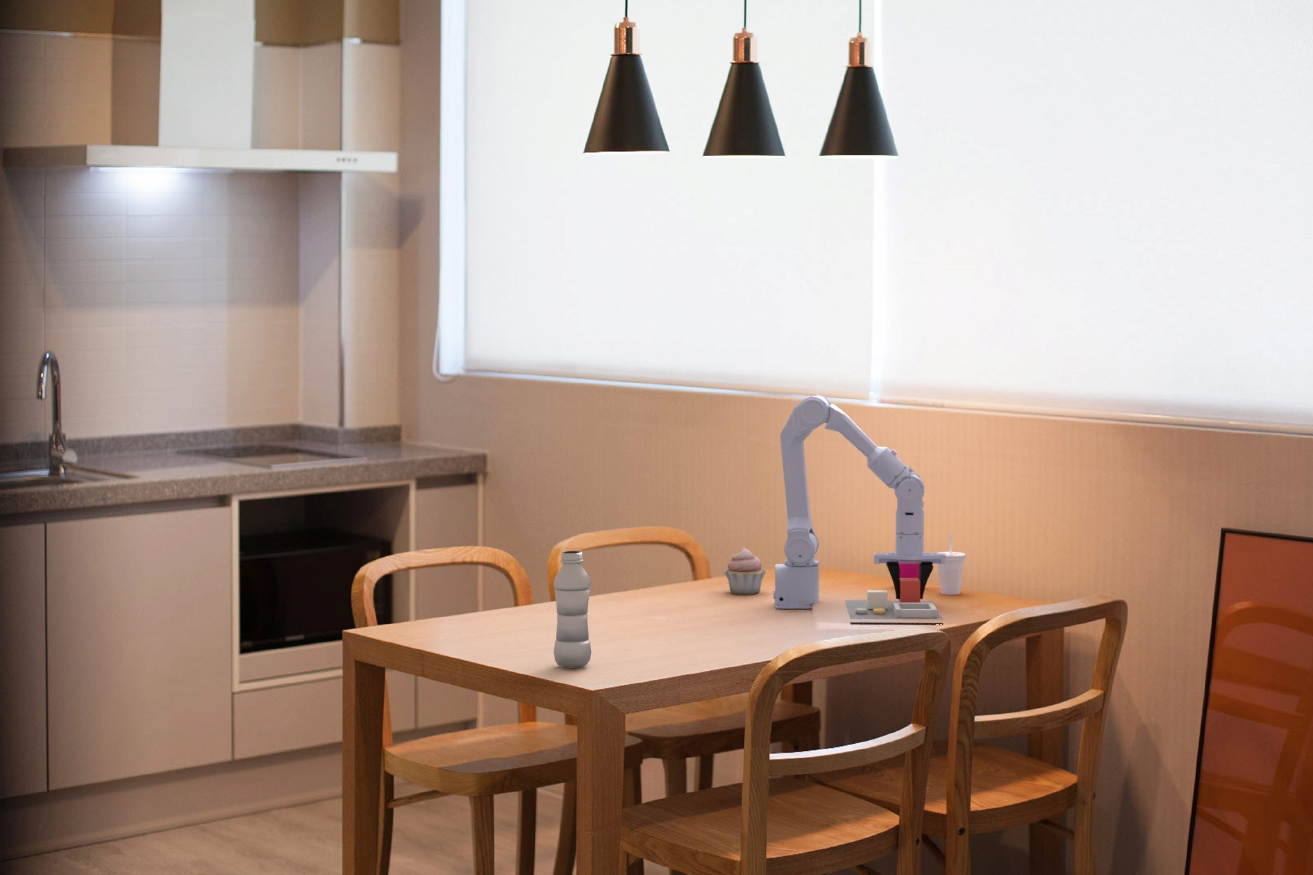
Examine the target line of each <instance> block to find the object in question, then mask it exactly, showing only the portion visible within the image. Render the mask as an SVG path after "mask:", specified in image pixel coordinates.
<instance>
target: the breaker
mask: <svg viewBox="0 0 1313 875" xmlns="http://www.w3.org/2000/svg"><path fill="white" fill-rule="evenodd" d="M888 597H889V592H888V590H885V589H881V590H880V589H867V590H866V600H867V608H868V609H876V608H881V609H888V601H889V600H888V599H889V598H888Z"/></svg>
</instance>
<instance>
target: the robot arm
mask: <svg viewBox="0 0 1313 875" xmlns="http://www.w3.org/2000/svg"><path fill="white" fill-rule="evenodd" d="M823 424H826V425H825V426H824V429H826V430H829V431H834V432H838V433H839V434H841V435H842V436H843V437H844V438H845V439H846V440H847V441H848V442H849V443H850V444H851V445H852V446H854V447H855V448H856V449H857V450H858V451H859V452H861V454H862V455H864V456H865V457H866V459H867V465H866V466H867V468H868V470H869V469H870V471H871V472H872V473H873V474H874V475H875V476H876V477H877V478H878V479H879V480H881V482H882V483H883V484H885V485H886V486H887V488H889V489H893V490H894V495H895V497H896V510H895V551H894V552H877V553H876V552H874V553H873V564H874V565H879V564H885V565H886V567H887V570H888V572H889V574H890V577H891V580H892V584H893V588H894V591H895V599H896V600H899V599H900V568H899V564H898V563H920V564H919V580H920V600H923V599H924V592H925V588H926V586H927V583H928V580H929V578H930V576H931V574H932V572H933V569H934V565H933V564H935V565H936V564H937V565H938V564H946V555H945V554H939V553H938V552H936V553H933V552H924V551H925V550H924V549H925V548H924V547H925V546H924V542H925V539H924V538H925V536H924V535H925V534H924V532H925V511H924V509H923V508H924V500H923V499H924V498H923V497H924V495H925V484H924V481H923V479H922V478H921V476H920V474H917V473H914V470H915V469H914V468H913V467H912V466H910V467H908V466H907V465H906V464H905V462H903V461H902V460H901V459H900V458H899V457H898V456H897V455H898V452H897V451H896V450H895V449H894V448H892V449H891V450H890V448H889V447H887V446H878V445H877V444H876V443H875V442H874V441H873V440H872V439H871V438H870V437H869V436H868V434H866V433H865V432H864V431H863V430H862V429H861V428H860V426H858V425H857V424H856V422H855V421H853V419H851V417H850V416H849V415H848V414H847V413H846V412H845V411H844V410H842V409H840V407H838V406H837V405H836V404H834V403H831V401H830V400H829V399H828V398H827V397H825V396H824V395H821V394H813V395H809V396H808V397H806V398H804V399H802V401H800V402H799V403H798V404H797V405H796V406H795V407H793V409H792V412H791V414H790V415H789V418H788V419H787V421H786V423H785V424H784V426H783V428H782V430H781V432H780V437H779V438H780V449H781V450H780V451H781V458H782V459H781V461H782V468H783V469H782V470H783V471H782V472H783V480H784V481H783V482H784V491H785V492H784V493H785V501H786V502H785V504H786V514H787V527H786V528H787V529H786V532H787V533H786V534H787V538H786V541H785V545H784V548H783V550H784V556H785V557H786V558H785V560H784V561H783V563H776V564H775V565H774V590H773V600H774V607H775V608H774V609H778V610H779V609H780V610H781V609H784V610H785V609H786V610H787V609H790V610H791V609H792V610H795V609H796V610H798V609H800V610H801V609H802V610H803V609H805V610H806V609H807V610H809V609H810V610H811V609H814V607H813V604H816V603H818V602H820V560H818V559H817V558H816V556H815V555H816V553H817V552H818V550H819V547H820V542H819V537H817V535H816V533H815V531H814V527H813V520H812V517H811V507H810V499H809V498H810V497H809V487H808V486H809V485H808V478H807V477H808V476H807V475H808V474H807V466H806V455H805V444H804V442H805V441H806V439H807V438H808V437H809V436H810V435H811V434H812V433H813V431H814V430H815V429H817V428H818V427H820V426H822V425H823ZM900 560H920V561H900Z"/></svg>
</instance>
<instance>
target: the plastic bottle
mask: <svg viewBox="0 0 1313 875" xmlns="http://www.w3.org/2000/svg"><path fill="white" fill-rule="evenodd" d="M560 555H561V556H560V558H561V560H560V563H561V564H562V565H561V567H560V569H559V571H558V572H557V573H556V575H555V577H554V580H553V589H554V596H555V606H556V613H557V614H556V618H557V619H556V622H557V623H556V634H555V638H556V639H555V641H554V648H553V656H554V657H553V658H554V662H555V663H556V664H557V666H559V667H563V668H568V667H576V668H581V667H584V666H587V665H588V664H589V662H590V660H591V657H592V646H591V642H590V639H589V638H590V635H589V626H588V625H589V623H588V618H589V616H588V612H589V599H590V593H591V583H592V582H591V579H590V575H589V574H588V573H587V571H586V570H585V569H584V567H583V566H582V563H584V559H583V551H581V550H564V551H561V554H560Z"/></svg>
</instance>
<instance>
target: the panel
mask: <svg viewBox="0 0 1313 875" xmlns="http://www.w3.org/2000/svg"><path fill="white" fill-rule="evenodd" d="M844 602H845V606H846V608H847V612H848V615H849V619H851V620H863V619H864V620H944V618H943V616H942V615H941V613H940V611H939V610H938V608H937V607H936V605H935V604H934V602H933V600H920V603H899V600H888V609H881V608H876V609H868V608H867V599H866V600H860V599H859V600H855V599H854V600H853V599H851V600H847V599H845V600H844ZM849 624H850V625H853V626H854V625H858V626H860V625H863V626H864V625H865V626H874V625H875V626H884V625H885V626H937V625H936V624H939V625H938V626H944V623H943V622H887V621H886V622H885V621H884V622H880V621H879V622H878V621H877V622H876V621H875V622H874V621H873V622H871V621H868V622H866V621H865V622H863V621H856V622H855V621H853V622H851V621H849ZM940 624H942V625H940Z"/></svg>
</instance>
